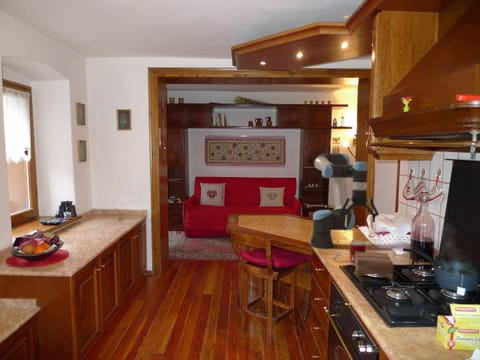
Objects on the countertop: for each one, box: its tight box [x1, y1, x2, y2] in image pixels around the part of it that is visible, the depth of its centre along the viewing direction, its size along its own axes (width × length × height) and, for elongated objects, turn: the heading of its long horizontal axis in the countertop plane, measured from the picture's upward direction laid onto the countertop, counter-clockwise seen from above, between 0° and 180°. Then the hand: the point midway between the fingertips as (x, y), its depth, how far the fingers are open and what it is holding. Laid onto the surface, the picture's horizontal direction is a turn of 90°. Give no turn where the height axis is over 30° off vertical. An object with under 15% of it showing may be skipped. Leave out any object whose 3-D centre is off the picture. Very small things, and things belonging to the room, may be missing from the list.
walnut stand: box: [354, 251, 394, 280], centre depth 164 cm, size 16×16×8 cm
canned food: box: [349, 240, 366, 264], centre depth 179 cm, size 8×8×11 cm
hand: (358, 227), depth 178 cm, fingers open, 13 cm apart
